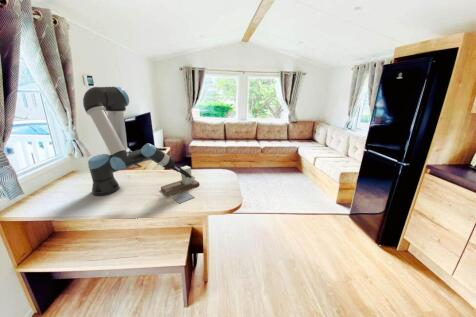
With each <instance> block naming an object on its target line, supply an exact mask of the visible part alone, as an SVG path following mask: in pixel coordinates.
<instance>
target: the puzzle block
mask: <svg viewBox="0 0 476 317" xmlns="http://www.w3.org/2000/svg"><path fill="white" fill-rule="evenodd" d="M181 169H182V170H184V171H186V172H187V173H189V174H190V175H192V167H191V166H188V165H184V166H181ZM180 174H181V173H180ZM180 177H181V180H182V184H183V185H185V186H186V185H189V184H192V180H191V179H189V178H187V177H186V176H185V175H183V174H181V175H180Z"/></svg>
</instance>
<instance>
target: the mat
mask: <svg viewBox="0 0 476 317" xmlns="http://www.w3.org/2000/svg"><path fill="white" fill-rule="evenodd" d="M171 198H172V199H174V201H176V202H177V203H178V204H182V203H184V202H187V201H190V200H193V199H195V196H194V195H192V194H191V193H190V192H189V191H188V190H185V191H182V192H180V193H177V194H174V195H171Z"/></svg>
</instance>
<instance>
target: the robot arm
mask: <svg viewBox="0 0 476 317" xmlns="http://www.w3.org/2000/svg"><path fill="white" fill-rule="evenodd" d="M129 104H130V98H129V95H128V93H127V91H126V90H125V89H124V88H123V87H120V86H93V87H90V88H89V89H87V90H86V91H85V92H84V95H83V99H82V106H83V108H84V112H85V113H86V114H87V115H88V116H90V117H91V119H92V121H93V123H94V126H95V127H96V129H97V131H98V132H99V134H100V136H101V138H102V140H103V142H104V144H105V146H106V147H107V149H108V151H109V153H110V154H107V153H101V154H97V155H94V156H92V157H90V158H89V159H88V161H87V165H88V169H89V173H90V175H91V179H92V187H91V192H92V195H93V196H96V197H103V196H107V195H111V194H114V193H115V192H117V191H118V190H119V189H120V184H119V183H118V181H117V180H116V177H115V176H114V173H116V172H118V171H122V170H125V169H128V168H130V167H132V166H134V165H138V164H141V163H144V162H148V161H153V162H154V163H156V165H158V166H159V165H160V167H162V168H164V169H166V170H170V169H172V170H173V171H175V172H177V173H180V174H183V175H185V176H186V177H187V178H189V179H191V180H192V181H193V180H196V179H195V178H196V177H195V176H193V175H192V174H191V175H190V174H189V173H187V172H186V171H184V170H182V169H181V167H182V166H181V167H180V166H179V165H178V163H177V164H176V163H175V159H174V158H172V156H170V155H168V154H167V153H165V152H164V151H162V150H161V149H159V148H158V147H156V146H155V145H153V144H151V143H148V142H147V143H145V144H144V145H143V146H142V147H141V148H140V149H136V150H134V151H132V150H131V149H130V148H129V147H128V142H127V140H128V139H127V132H126V125H125V124H126V123H125V116H124V115H125V114H124V113H125V112H126V109H127V108H126V107H127V106H129Z"/></svg>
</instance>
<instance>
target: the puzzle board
mask: <svg viewBox="0 0 476 317" xmlns="http://www.w3.org/2000/svg"><path fill="white" fill-rule="evenodd" d="M199 186H200V182H199V181H197V179H194V180H193V181H192V184H189V185H186V186H185V185H183V184H182V179H181V180H178V181H174V182H171V183H169V184H165V185H162V186H160V190H161V191H162V192H163V193H164V194H165V195H166V196H168V197H172V196H174V195H177V194H180V193H183V192H185V191H188V190H191V189H193V188H196V187H199Z"/></svg>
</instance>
